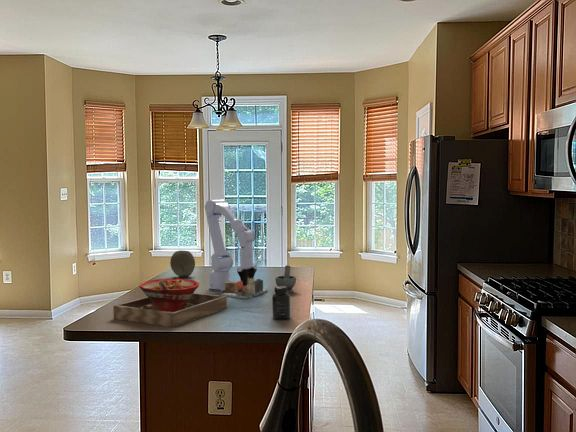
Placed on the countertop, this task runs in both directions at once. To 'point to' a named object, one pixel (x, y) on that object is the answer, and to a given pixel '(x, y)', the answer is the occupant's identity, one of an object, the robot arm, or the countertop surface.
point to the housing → (249, 284)
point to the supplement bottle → (281, 303)
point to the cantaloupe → (182, 263)
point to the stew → (168, 293)
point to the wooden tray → (202, 307)
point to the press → (257, 288)
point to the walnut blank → (230, 286)
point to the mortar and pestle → (286, 279)
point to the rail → (247, 296)
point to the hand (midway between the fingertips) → (247, 284)
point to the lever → (239, 288)
